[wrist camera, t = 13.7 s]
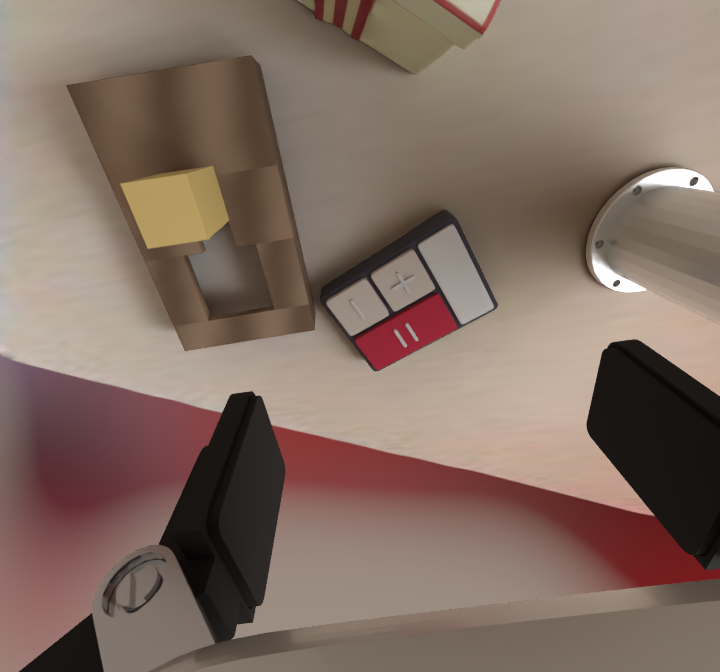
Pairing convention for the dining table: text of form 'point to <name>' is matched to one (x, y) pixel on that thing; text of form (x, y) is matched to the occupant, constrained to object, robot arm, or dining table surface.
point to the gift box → (409, 25)
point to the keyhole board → (234, 175)
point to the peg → (177, 206)
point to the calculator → (410, 292)
